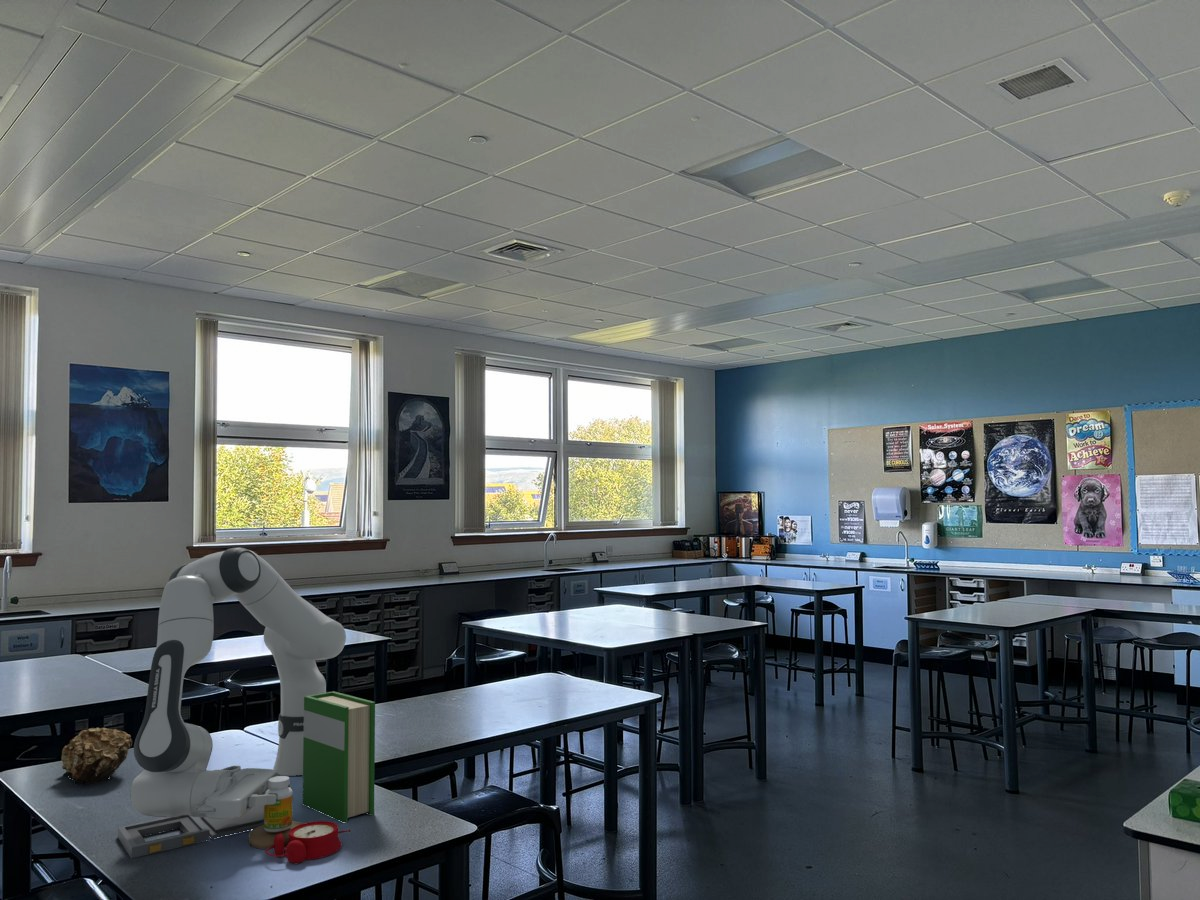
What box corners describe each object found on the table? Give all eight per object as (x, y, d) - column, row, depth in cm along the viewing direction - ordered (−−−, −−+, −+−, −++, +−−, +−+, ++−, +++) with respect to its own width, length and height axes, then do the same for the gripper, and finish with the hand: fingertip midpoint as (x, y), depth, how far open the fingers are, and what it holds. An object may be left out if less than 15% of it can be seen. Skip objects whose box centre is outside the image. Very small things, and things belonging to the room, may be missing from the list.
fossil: (39, 765, 217) (72, 707, 222) (94, 780, 226) (125, 724, 231) (63, 792, 200) (98, 729, 205) (122, 806, 209) (154, 746, 214)
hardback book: (374, 814, 187) (375, 702, 189) (343, 823, 182) (344, 707, 184) (332, 796, 199) (333, 691, 201) (302, 804, 194) (304, 696, 196)
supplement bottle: (265, 834, 170) (266, 784, 171) (262, 826, 175) (263, 777, 176) (293, 829, 173) (294, 780, 173) (290, 821, 177) (291, 773, 178)
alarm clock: (357, 828, 169) (289, 832, 158) (350, 862, 168) (282, 868, 157) (327, 816, 176) (260, 820, 165) (320, 849, 175) (252, 855, 164)
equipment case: (261, 806, 193) (261, 797, 193) (283, 824, 182) (283, 814, 182) (117, 837, 175) (118, 827, 175) (132, 859, 164) (132, 848, 164)
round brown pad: (295, 824, 181) (295, 817, 181) (314, 839, 173) (315, 832, 173) (241, 837, 174) (241, 829, 175) (258, 853, 166) (258, 845, 166)
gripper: (190, 794, 164) (263, 794, 164) (236, 763, 185) (300, 762, 185) (189, 828, 164) (262, 828, 164) (236, 793, 184) (300, 792, 184)
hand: (283, 793), depth 174 cm, fingers open, 5 cm apart
